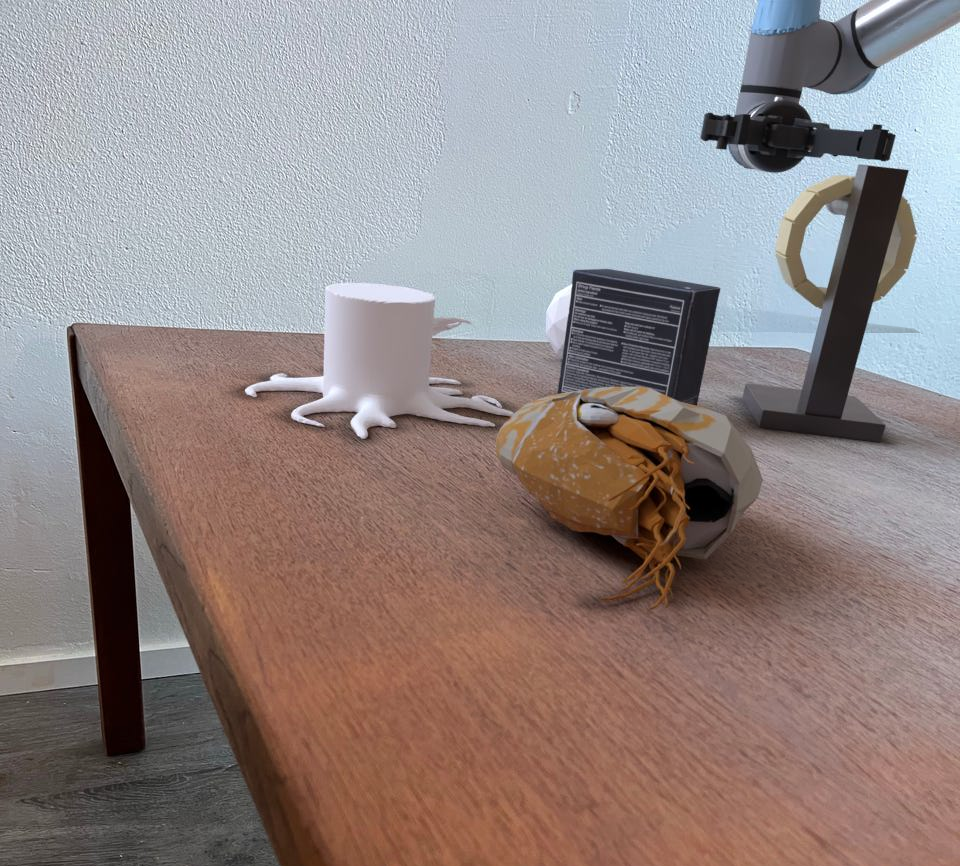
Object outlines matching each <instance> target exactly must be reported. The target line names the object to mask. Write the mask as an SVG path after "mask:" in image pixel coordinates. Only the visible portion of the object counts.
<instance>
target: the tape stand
mask: <svg viewBox="0 0 960 866" xmlns="http://www.w3.org/2000/svg"><path fill="white" fill-rule="evenodd" d="M909 172H910V169H904V168H896V167H886V166H878V165H870V164H860V163H859V164H857V168H856V172H855V175H854V176H855V180H854V184H853V187H852V191H851V194H848V195H846V196H844V197H841V198H839V199H837V200H835V201H832V202H830V203H828V204H826V205H825V208H826V209H827V211H829V213H831V214H832V215H835V216H843V217H844V219H843V222H842V223H843V224H842V227H841V231H840V236H839V240H838V243H837V248H836V251H835V256H834V260H833V264H832V268H831V272H830V276H829V279H828V284H827V287H826V288H827V291H826V295H825V299H824V303H823V307H822V309H821V312H820V316H819V320H818V324H817V328H816V332H815V336H814V339H813V344H812V348H811V351H810V355H809V360H808V364H807V368H806V372H805V375H804V379H803V384H802V387H801V389H798V388H791V387H781V386H774V385H766V384H758V383H749V382H746V383H745V384H744V389H743V393H742V398H741V399H742V401H743V403H744V404H745V406H746V408H747V410H748V411H749V413H750V415H751V416H752V418H753V419H754V422H756V424H757V426H758V427H759V428H760V429H767V430H775V431H782V432H783V431H784V432H790V433H791V432H793V433H801V434H807V435H808V434H809V435H817V436H824V437H834V438H840V439H849V440H857V441H866V442H874V443H881V441H882V439H883V435H884V432H885V428H886V424H885V423H884V422H883V421H882V420H881V419H880V418H879V417H878V416H877V415H876V414H874V412H872V411H871V409H869V408H868V406H866V404H864V403H863V402H862V401H861V400H860V399H859V398H858V396H855V395H849V392H850V388H851V384H852V381H853V378H854V374H855V369H856V366H857V362H858V358H859V356H860V355H859V354H860V353H861V352H860V351H861V347H862V344H863V340H864V337H865V333H866V330H867V327H868V326H867V325H868V323H869V322H868V321H869V320H870V319H869V318H870V314H871V311H872V307H873V304H874V302H873V300H874V297H875V293H876V289H877V286H878V282H879V278H880V275H881V271H882V267H883V264H884V260H885V256H886V253H887V249H888V245H889V242H890V238H891V234H892V231H893V227H894V223H895V220H896V216H897V212H898V209H899V205H900V201H901V198H902V196H903V194H904V190H905V186H906V183H907V179H908V175H909Z"/></svg>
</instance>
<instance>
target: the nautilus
mask: <svg viewBox="0 0 960 866" xmlns="http://www.w3.org/2000/svg"><path fill="white" fill-rule="evenodd" d="M513 413H514V414H513V415H512V416H511V417H510V416H509V418H508V419H507V420H506V421H505V422H504V423H503V424H502V426H501V427H500V428H499V431H498V432H497V434H496V437H495V446H494V447H495V449H494V451H495V453H496V456H497V458H498V461H499V462H500V464H501V466H502V467H503V469H505V470H507V471H508V472H510V473H511V474H512V475H515V476H516V478H517V479H518V481H519V482H520V483H521V485H522V486H523V487H524V488H525V489H526V490H527V491H528V492H529V493H530V494H531V496H532V497H533V498H535V499H536V500H537V502H538V503H540V505H542V506H543V507H544V508H545V509H546V510H547V512H548V515H549V517H550V519H552V520H554V521H555V522H558V523H560V524H562V525H564V526H566V527H567V528H568V529H569V530H571V531H572V532H579V533H595V534H598V535H599V534H600V535H603V536H611V537H612V538H613V539H615V540H616V541H617V542H618V543H620V544H621V545H623V547H627V548H629V549H630V550H631V551H632V552H634V553H635V554H636V555H637V556H639V557H640V558H641V559H642V560H644V561H643V564H642V565H640V567H638V568H637V569H636V570H635V571H634V572H632V574H630V575H629V576H628V577H627V578H625V579H623V580H622V581H621V583H622V584H625V583H628V582H630V581H631V580H632V579H633V580H632V581H631V582H630V583H629V584H627V585H626V587H624V588H622V589H620V592H623V593H621V594H618V595H614V596H611V597H607V598H605V597H604V598H603V597H601V598H600V601H607V602H609V601H613V600H617V599H623V598H626V597H629V596H632V595H633V594H636V593H638V592H640V591H642V590H643V589H646V588H647V587H649V586H651V585H653V584H655V586H656V588H658V589H659V590H660V592H661V596H660V597H659V598H658V600H657V601H656V602H655V604H654V605H652V606H651V607H649V608H648V610H649V611H652V610H655V609H656V608H657V607H658V606H659V605H660V604H662V602H663V601H664V603H665V608H667V609H668V608H669V607H668V606H669V599H668V593H670V597H671V600H674V593H673V590H672V587H671V585H672V583H673V580H674V578H675V575H676V570H675V566H674V564H673V563H671V561H673V559H675V561H676V563H677V565H678V566H679V569H680V570H681V569H682V564H681V562H680V560H679V558H678V557H685V558H691V559H692V558H693V559H699V560H707V559H708V558H709V557H710V556H711V555H712V554H713V553H714V551H716V550H717V549H718V548H719V547H720V545H722V543H724V542H725V541H726V540H727V538H729V536H730V535H732V532H733V531H734V529H735V527H736V525H737V524H738V523H739V521H740V518H741V517H742V515H743V514H744V513H745V512H746V511H747V510H748V509H749V508H750V507H751V505H753V504H754V503H755V502H756V500H758V498H759V495H760V492H761V488H762V484H763V481H764V479H763V476H762V473H761V470H760V468H759V466H758V463H757V460H756V458H755V455H754V452H753V450H752V447H750V444H748V442H747V441H746V440H745V439H744V437H743V436H742V434H741V433H739V430H737V428H736V427H735V426H734V424H733V423H732V422H731V420H730V419H729V418H728V417H727V415H725V414H723V413H720V412H717V411H715V410H712V409H709V408H706V407H703V406H699V405H697V406H695V405H691V404H687V403H683V402H680V401H677V400H675V399H672V398H670V397H668V396H666V395H664V394H662V393H659V392H657V391H655V390H653V389H651V388H647V387H601V388H592V389H586V390H579V391H573V392H567V393H561V394H557V393H556V394H550V395H546V396H543V397H541V398H538V399H535V400H532V401H529V402H527V403H526V404H524V405H523V406H522V407H520V408H519V409H518V410H517V411H515V412H513ZM677 556H678V557H677ZM656 564H657V566H656ZM648 565H649V569H650V571H649V572H648V573H647V574H645V575H643V573H644V572H645V570H646V569H647V567H648ZM664 567H665V568H666V571H665V573H664V584H665V586H662V585H661V582H660V581H661V580H660V575H661V574H660V572H661V571H660V570H661V569H663V568H664ZM669 571H670V573H669ZM668 574H669V576H668ZM642 575H643V576H642ZM651 576H653V577H652V578H651V579H649V578H650V577H651ZM639 579H640V580H646V579H649V580H648V581H646V582H644V583H641V584H640V585H638V586H636V587H635V588H632V589H631V590H629V589H630V588H631V587H633V585H635V584H636V583H637V582H638V581H639ZM627 590H629V591H627ZM624 591H627V592H624Z"/></svg>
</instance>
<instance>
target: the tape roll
mask: <svg viewBox="0 0 960 866" xmlns="http://www.w3.org/2000/svg"><path fill="white" fill-rule="evenodd" d="M855 176H856V175H854V176H853V175H845V174H837V175H836V174H835V175H832V176H830V177H828V178H826V179H824V180H821V181H819V182H817V183H815V184H812V185H809V186H807V187H806V188H805V190H802V192H801V193H800V194H799V195H798V196H797V198H796V199H795V200H794V201H793V203H792V204H791V205H790V206H789V207H788V209H787V210H786V212H784V214H783V215H782V217H783V218H781V219H780V223H779V228H778V233H777V237H776V241H775V246H774V250H775V252H774V254H775V258H776V260H777V264H778V267H779V270H780V274H781V277H782V280H783V281H784V283H785V284H786V285H787V286H789V287H790V288H791V289H792V290H794V291H795V292H796V293H797V294H799V295H800V296H801V297H802V298H803V299H805V300H806V301H807V302H808V303H810V304H811V305H813V306H814V307H815V308H818V309H820V310H822V307H823V303H824V299H825V295H826V291H827V287H824V286H817V285H816V284H815V283H813V282H812V281H811V280H810V279H808V277H807V273H806V270H805V266H804V263H803V260H802V256H801V252H802V248H803V243H804V239H805V234H806V230H807V227H808V226H809V225H810V223H811V222H812V221H813V220H814V219H815V217H816V216H817V215H818V214H819V213H820V211H821V210H822V209H823V208H824V206H826V204H828V203H830V202H832V201H835V200H837V199H839V198H841V197H844V196H846V195H848V194H851V191H852V187H853V184H854V180H855ZM911 208H912V207H911V204H910V203H909V201H908V199H907V198H905V197H904V196H903V195H902V198H901V201H900V205H899V209H898V212H897V216H896V220H895V223H894V227H893V231H892V234H891V238H890V242H889V245H888V249H887V253H886V256H885V260H884V264H883V267H882V271H881V275H880V278H879V282H878V286H877V289H876V293H875V297H874V300H873V303H876V302H878V301H880V300H882V298H885V297H886V296H887V295H888V293H889V292H890V291H891V290H892V289H893V287H895V285H897V283H898V282H899V281H900V280H901V279H902V278H903V276H905V274H906V273H907V270H909V266H910V263H911V260H912V259H911V258H912V256H913V252H914V249H915V245H916V242H917V238H918V237H917V235H918V233H917V228H916V223H915V220H914V217H913V212H912V209H911Z"/></svg>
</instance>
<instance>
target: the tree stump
mask: <svg viewBox="0 0 960 866" xmlns="http://www.w3.org/2000/svg"><path fill="white" fill-rule="evenodd" d="M324 302H325V303H324V335H323V336H324V338H323V339H324V340H323V375H322V376H312V377H311V376H309V377H288V375H287V374H286V373H276V374H273V375H271V376H270V377H269V380H267V381H260V382H256V383H253V384H251V385H249V386H248V387H246V388H245V390H244V393H245V394H246V395H247V396H249V397H253V398H257V397H258V394H257V393H259V392H273V391H274V392H275V391H281V392H282V391H283V392H284V391H285V392H287V391H290V392H292V391H293V392H294V391H298V392H299V391H300V392H311V393H312V392H313V393H318V394H322V398H319V399H317V400H314V401H311V402H307V403H305V404H303V405H300V406H298V407H296V408H295V409H294V410H292V412H291V414H290V416H291V419H293V421H297V423H302V424H306V425H311V426H316V427H319V428H320V427H321V428H325V427H326V426H325V424H323V423H320V422H318V421H316V420H311V419H309V418H306V417H304V416H307V415H310V414H317V413H339V412H340V413H342V412H347V413H352V412H354V413H356V414H355V415H354V416H353V417H352V418H351V420H350V426H351V429H353V431H354V432H355V434H356V436H357V437H359V438H361V439H362V440H365V439H367V438H368V437H369V432H368V429H369V428H371V427H378V426H380V427H383V428H391V429H392V428H394V429H395V428H397V424H396V422H395V421H394V420H393V419H391V417H394V416H400V415H410V416H417V417H423V418H429V419H433V420H438V421H441V422H449V423H456V424H466V425H472V426H479V427H496V424H495V423H494V422H491V421H488V420H484V419H479V418H476V417H470V416H469V417H468V416H463V415H460V414H457V413H453V412H449V411H447V410H444V409H454V408H468V409H472V410H476V411H480V412H484V413H488V414H491V415H497V416H504V417H505V416H506V417H509V418H510V417H511V416H512V415H513V414H514V413H515V412H513V411H510V410H509V409H505V408H503V405H502V404H501V403H500V402H499V401H498V400H497V399H496V398H493V397H490V396H487V395H482V394H481V395H473V396H472V397H470V398H469V397H462V396H461V397H460V396H456V395H463V392H462V391H461V390H459V389H455V388H449V387H448V388H446V387H437V386H430V385H434V384H436V385H438V384H450V385H451V384H452V385H459V386H460V385H462V383H461V382H460V381H458V380H456V379H451V378H441V377H432V376H431V377H430V374H431V362H432V348H433V349H435V350H437V348H436V345H435V344H434V343H433V337H435V336H437V335H439V334H440V333H442V332H444V331H446V332H447V331H450V330H452V329H455V328H456V327H458V326H460V325H461V324H462V323H466V324H470V325H472V323H471V321H469V320H465V317H461V318H457V317H447V316H436V317H435V306H436V296H435V295H434V293H433V294H432V293H431V292H428V291H427V292H426V291H422V290H421V289H416V288H411V287H406V286H399V285H391V284H387V283H386V284H381V283H369V282H340V283H331V284H329V285H328V286H327V285H326V286H325V298H324ZM453 395H454V396H453ZM491 403H492V404H491ZM494 404H495V405H496V406H495V405H494Z"/></svg>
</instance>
